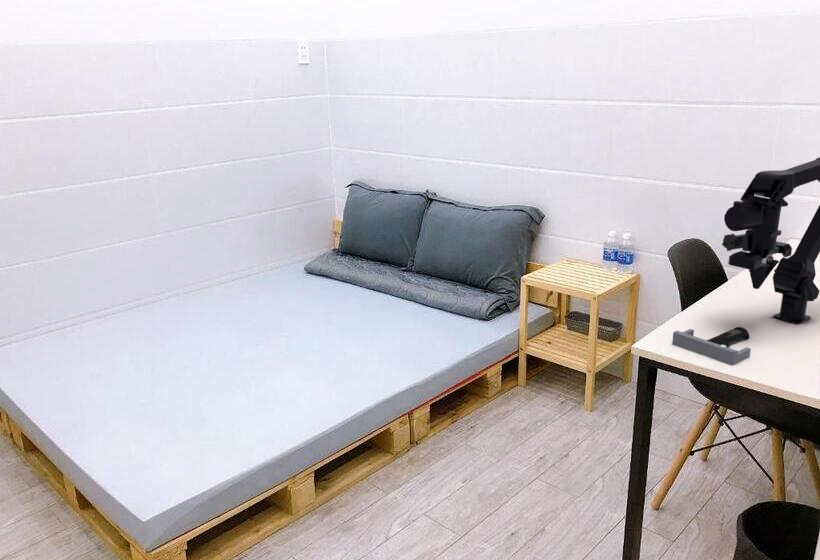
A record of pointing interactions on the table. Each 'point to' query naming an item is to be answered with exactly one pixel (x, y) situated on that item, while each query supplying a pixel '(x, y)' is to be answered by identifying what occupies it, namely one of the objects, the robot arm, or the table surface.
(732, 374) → the table surface
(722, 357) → the charging dock
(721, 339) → the electric trimmer
